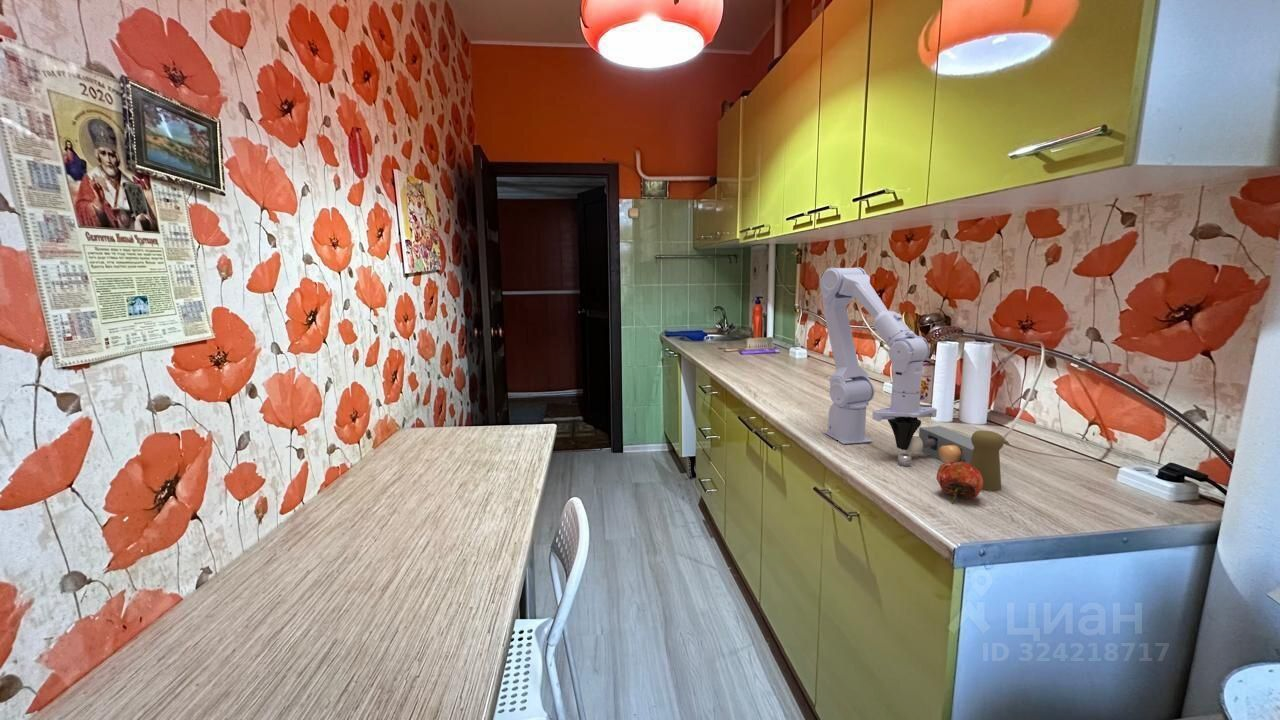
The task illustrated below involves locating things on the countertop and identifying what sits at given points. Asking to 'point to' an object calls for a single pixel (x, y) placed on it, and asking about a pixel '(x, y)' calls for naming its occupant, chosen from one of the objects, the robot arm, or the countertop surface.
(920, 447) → the cream knob
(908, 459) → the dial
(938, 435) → the mount
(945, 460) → the orange knob
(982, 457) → the cork
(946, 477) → the pomegranate
